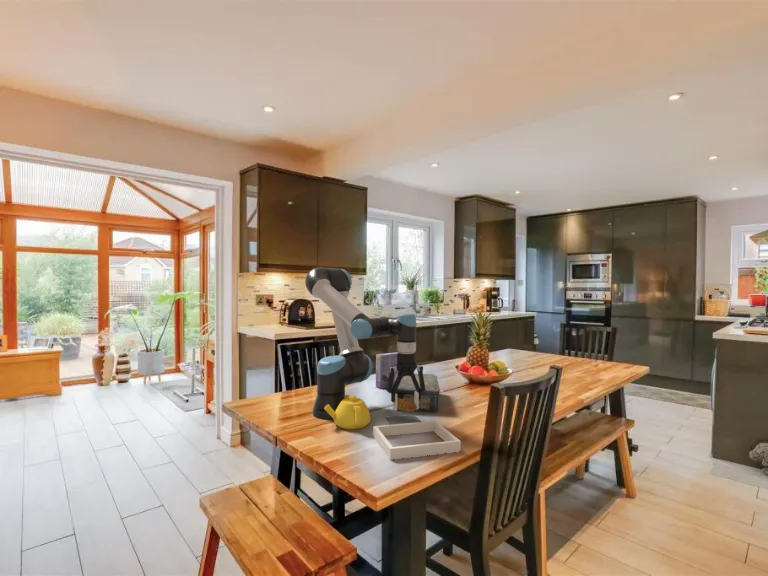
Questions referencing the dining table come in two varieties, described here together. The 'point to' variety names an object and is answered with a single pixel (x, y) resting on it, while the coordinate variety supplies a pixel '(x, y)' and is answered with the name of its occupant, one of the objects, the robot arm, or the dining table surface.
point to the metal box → (428, 397)
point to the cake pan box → (385, 368)
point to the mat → (403, 419)
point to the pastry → (405, 405)
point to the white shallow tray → (420, 449)
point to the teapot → (350, 413)
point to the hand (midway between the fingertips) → (405, 409)
